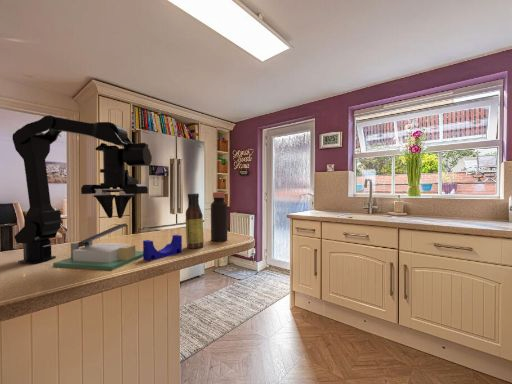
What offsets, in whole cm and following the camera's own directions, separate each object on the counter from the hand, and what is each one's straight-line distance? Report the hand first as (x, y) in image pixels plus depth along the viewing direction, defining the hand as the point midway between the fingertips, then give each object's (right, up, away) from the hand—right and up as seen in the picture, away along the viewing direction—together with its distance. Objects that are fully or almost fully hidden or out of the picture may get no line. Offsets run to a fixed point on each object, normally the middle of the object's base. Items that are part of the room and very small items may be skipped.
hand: (115, 217), depth 77 cm
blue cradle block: (+12, -13, +6) cm, 19 cm away
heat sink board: (-4, -13, +1) cm, 14 cm away
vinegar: (+27, -13, +30) cm, 42 cm away
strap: (-5, -6, +1) cm, 8 cm away
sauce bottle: (+20, -13, +18) cm, 29 cm away
